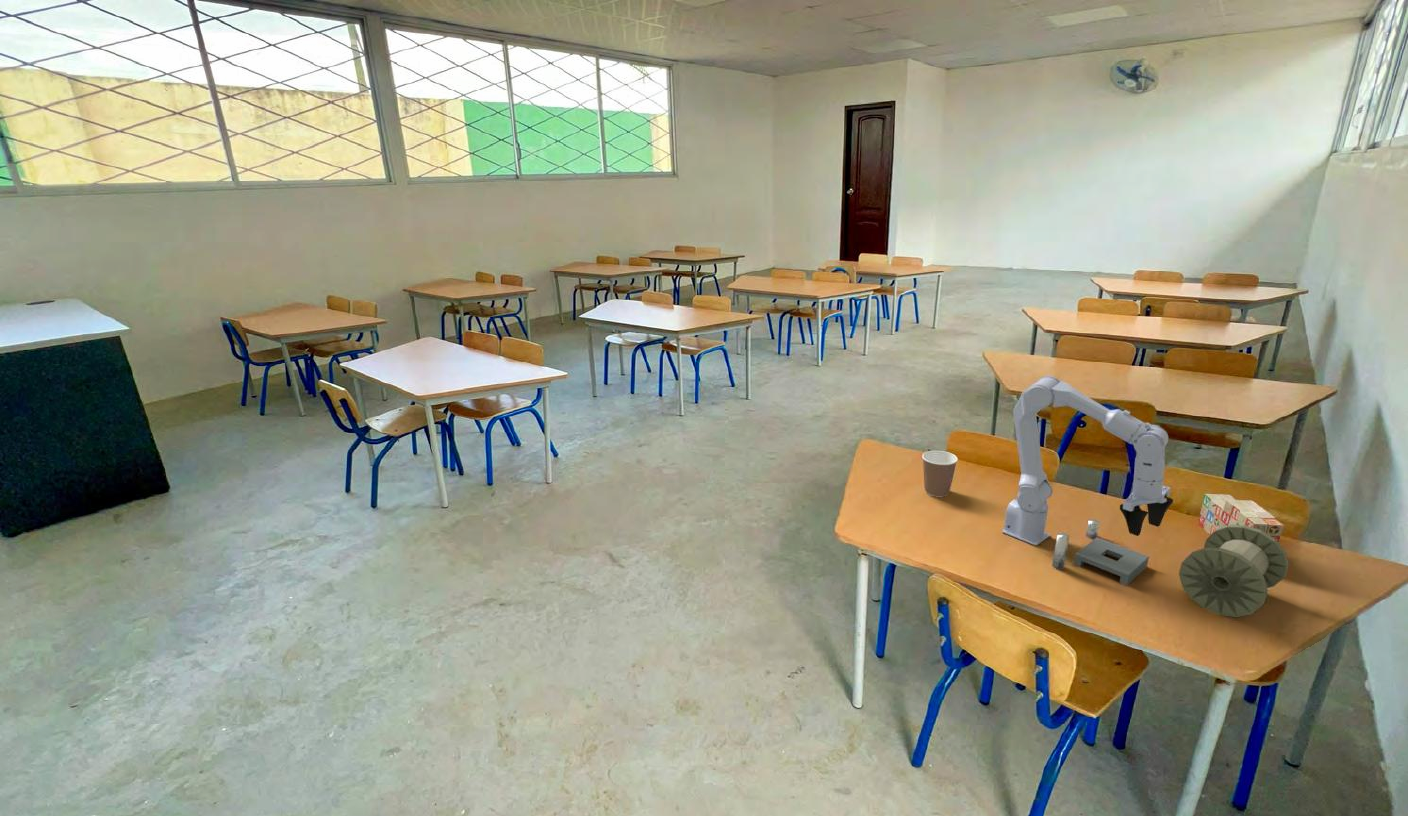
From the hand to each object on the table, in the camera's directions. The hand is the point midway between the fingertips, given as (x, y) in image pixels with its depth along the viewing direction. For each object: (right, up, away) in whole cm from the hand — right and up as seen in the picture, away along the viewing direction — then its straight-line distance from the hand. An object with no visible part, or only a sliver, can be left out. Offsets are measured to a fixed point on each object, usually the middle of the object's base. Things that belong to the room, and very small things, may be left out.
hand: (1144, 529), depth 155 cm
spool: (+13, -14, -8) cm, 21 cm away
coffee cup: (-34, +3, +46) cm, 57 cm away
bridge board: (-5, -10, +5) cm, 12 cm away
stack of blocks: (+31, -6, +12) cm, 34 cm away
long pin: (-18, -10, +6) cm, 21 cm away
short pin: (-2, -5, +18) cm, 19 cm away
